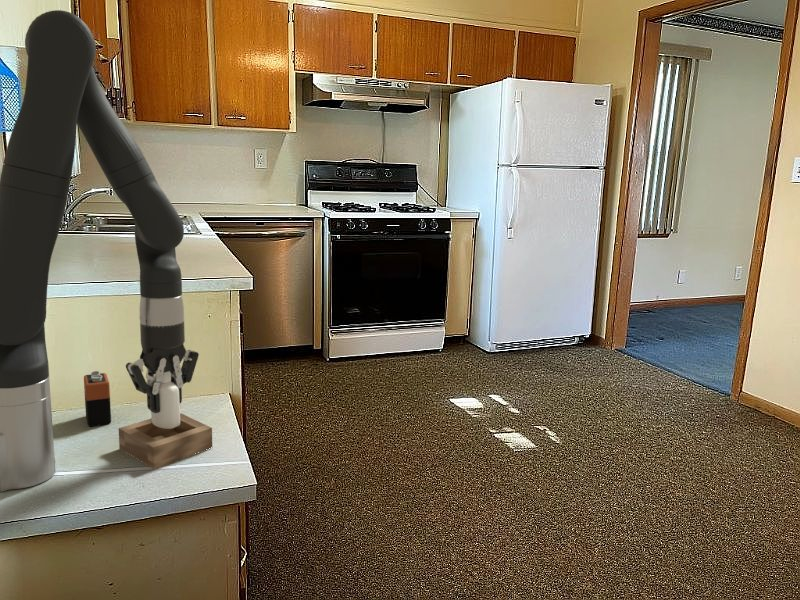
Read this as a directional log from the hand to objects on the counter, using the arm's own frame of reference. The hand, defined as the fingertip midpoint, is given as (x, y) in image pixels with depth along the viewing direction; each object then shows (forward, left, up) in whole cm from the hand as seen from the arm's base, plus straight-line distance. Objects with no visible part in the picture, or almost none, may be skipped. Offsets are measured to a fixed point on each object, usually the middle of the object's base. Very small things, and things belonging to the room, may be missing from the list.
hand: (165, 408), depth 115 cm
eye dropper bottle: (0, 0, -3) cm, 3 cm away
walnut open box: (0, 0, -8) cm, 8 cm away
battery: (-2, +22, -8) cm, 24 cm away
